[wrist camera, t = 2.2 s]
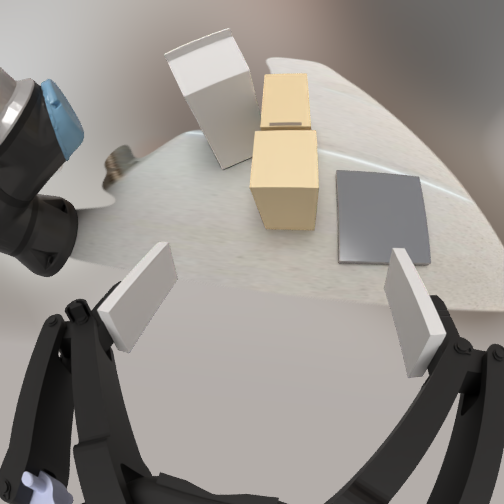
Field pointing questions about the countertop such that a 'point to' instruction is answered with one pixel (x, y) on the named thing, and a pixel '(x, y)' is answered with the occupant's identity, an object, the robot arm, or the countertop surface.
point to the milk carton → (219, 94)
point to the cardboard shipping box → (285, 103)
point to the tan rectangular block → (285, 178)
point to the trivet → (380, 217)
